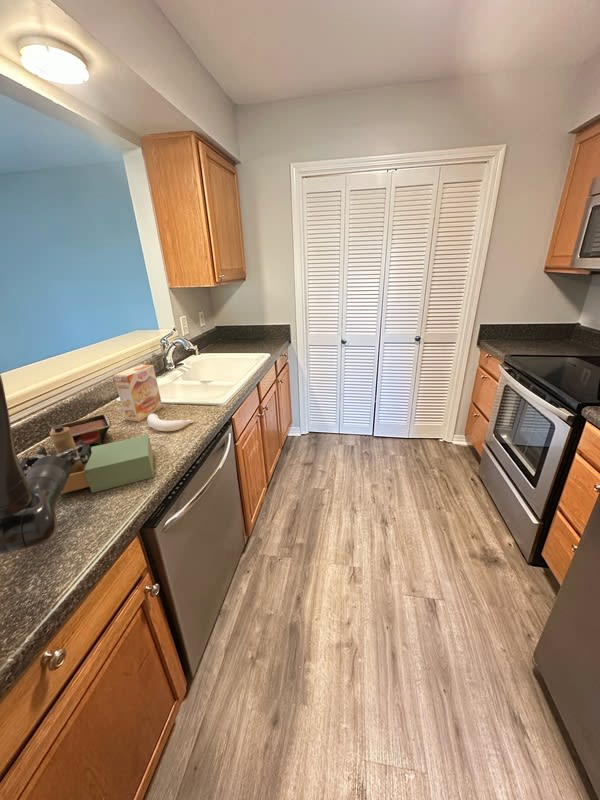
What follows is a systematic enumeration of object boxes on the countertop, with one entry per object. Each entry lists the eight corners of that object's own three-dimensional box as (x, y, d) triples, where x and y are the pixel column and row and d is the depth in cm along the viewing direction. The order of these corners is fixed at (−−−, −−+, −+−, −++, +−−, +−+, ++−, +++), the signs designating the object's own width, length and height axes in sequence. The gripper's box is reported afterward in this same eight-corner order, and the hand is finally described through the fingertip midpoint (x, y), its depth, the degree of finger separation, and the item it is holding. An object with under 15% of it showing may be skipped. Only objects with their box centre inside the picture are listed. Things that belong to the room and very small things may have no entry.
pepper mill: (66, 483, 89) (46, 432, 83) (69, 475, 93) (50, 425, 87) (84, 479, 91) (66, 428, 85) (87, 471, 95) (69, 422, 89)
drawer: (33, 503, 84) (25, 486, 82) (46, 477, 95) (40, 461, 93) (113, 483, 90) (107, 467, 88) (116, 461, 101) (112, 446, 99)
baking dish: (113, 450, 114) (111, 423, 111) (50, 459, 104) (45, 430, 102) (111, 437, 125) (109, 412, 123) (54, 444, 116) (50, 417, 114)
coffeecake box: (139, 421, 130) (127, 375, 122) (124, 420, 132) (112, 374, 124) (163, 407, 143) (154, 364, 135) (150, 405, 145) (140, 363, 137)
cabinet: (91, 493, 88) (83, 470, 86) (98, 467, 100) (91, 446, 97) (153, 477, 94) (148, 455, 91) (153, 454, 106) (148, 434, 103)
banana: (141, 422, 129) (177, 411, 138) (160, 440, 116) (198, 426, 125) (139, 411, 127) (175, 400, 136) (157, 428, 114) (196, 415, 123)
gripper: (78, 457, 74) (89, 428, 87) (0, 474, 69) (25, 440, 82) (87, 484, 76) (97, 452, 90) (14, 502, 71) (36, 465, 85)
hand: (63, 446), depth 86 cm, fingers open, 8 cm apart
